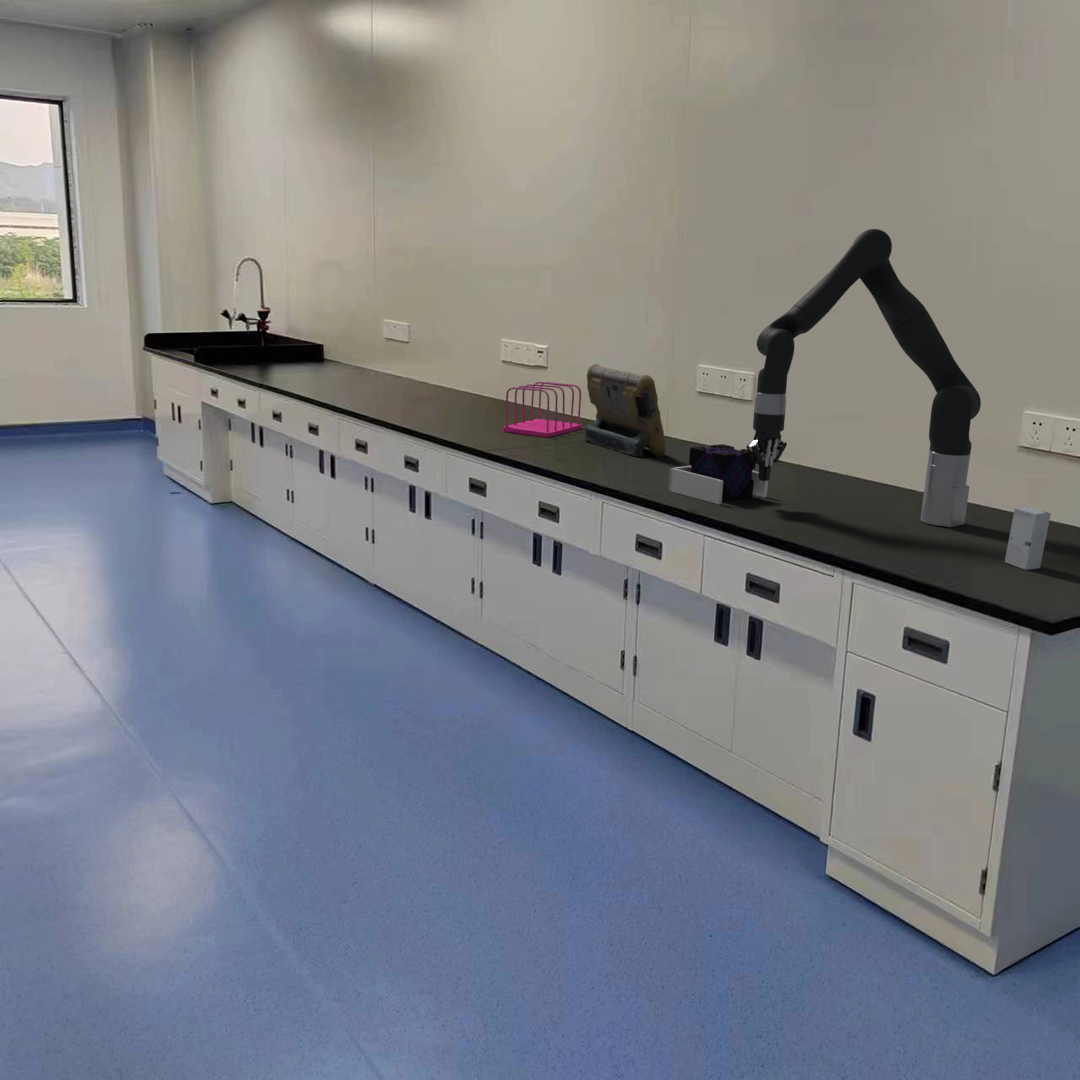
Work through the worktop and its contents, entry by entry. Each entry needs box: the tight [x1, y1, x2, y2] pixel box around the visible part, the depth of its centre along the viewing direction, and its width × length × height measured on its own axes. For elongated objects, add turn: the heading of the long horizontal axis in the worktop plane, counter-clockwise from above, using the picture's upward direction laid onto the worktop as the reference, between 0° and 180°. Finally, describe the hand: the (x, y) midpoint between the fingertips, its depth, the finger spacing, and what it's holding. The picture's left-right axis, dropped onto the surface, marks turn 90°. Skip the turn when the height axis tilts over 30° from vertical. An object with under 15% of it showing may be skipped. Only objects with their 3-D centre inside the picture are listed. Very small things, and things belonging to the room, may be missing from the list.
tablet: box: [585, 363, 667, 458], centre depth 349 cm, size 33×14×25 cm, turn 35°
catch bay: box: [667, 465, 769, 505], centre depth 291 cm, size 18×18×6 cm
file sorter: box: [502, 381, 583, 438], centre depth 378 cm, size 17×25×16 cm
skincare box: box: [1004, 505, 1052, 571], centre depth 233 cm, size 6×4×12 cm
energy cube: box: [688, 443, 756, 502], centre depth 289 cm, size 12×12×12 cm
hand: (763, 480), depth 278 cm, fingers closed
